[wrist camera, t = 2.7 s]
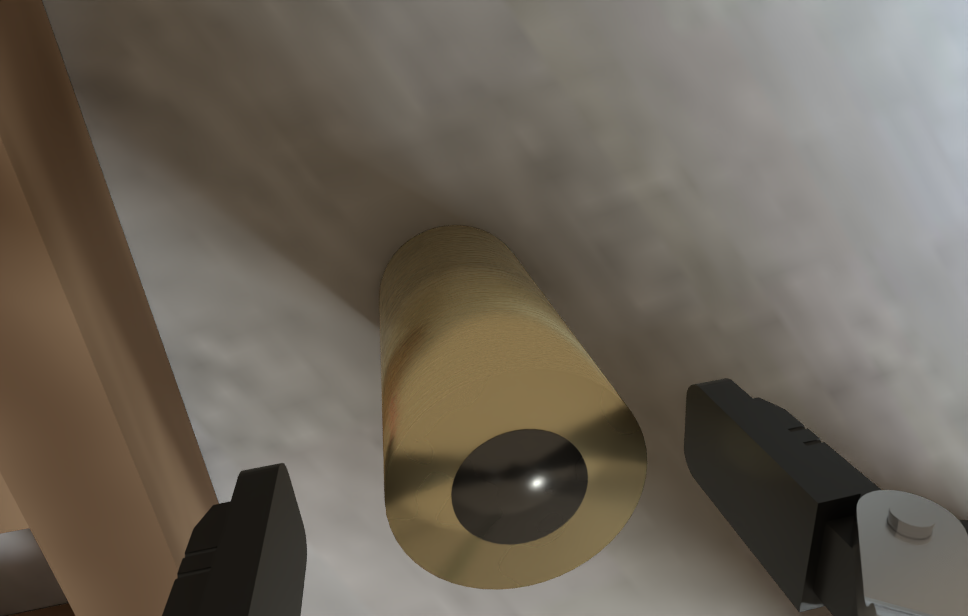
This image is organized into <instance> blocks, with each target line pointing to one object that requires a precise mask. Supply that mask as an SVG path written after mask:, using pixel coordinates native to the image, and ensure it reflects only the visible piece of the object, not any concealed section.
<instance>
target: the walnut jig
mask: <svg viewBox="0 0 968 616" xmlns="http://www.w3.org/2000/svg"><path fill="white" fill-rule="evenodd" d="M216 504H219V503H218V500H217V497H216V494H215V491H214V488H213V485H212V483H211V480H210V477H209V474H208V471H207V468H206V466H205V463H204V460H203V457H202V454H201V451H200V449H199V446H198V443H197V440H196V437H195V434H194V431H193V429H192V426H191V423H190V420H189V417H188V414H187V412H186V409H185V406H184V403H183V400H182V397H181V395H180V392H179V389H178V386H177V383H176V380H175V378H174V375H173V372H172V369H171V366H170V363H169V360H168V358H167V355H166V352H165V349H164V346H163V343H162V341H161V338H160V335H159V332H158V329H157V326H156V324H155V321H154V318H153V315H152V312H151V309H150V306H149V304H148V301H147V298H146V295H145V292H144V289H143V287H142V284H141V281H140V278H139V275H138V272H137V270H136V267H135V264H134V261H133V258H132V255H131V253H130V250H129V247H128V244H127V241H126V238H125V235H124V233H123V230H122V227H121V224H120V221H119V218H118V216H117V213H116V210H115V207H114V204H113V201H112V199H111V196H110V193H109V190H108V187H107V184H106V182H105V179H104V176H103V173H102V170H101V167H100V164H99V162H98V159H97V156H96V153H95V150H94V147H93V145H92V142H91V139H90V136H89V133H88V130H87V128H86V125H85V122H84V119H83V116H82V113H81V110H80V108H79V105H78V102H77V99H76V96H75V93H74V91H73V88H72V85H71V82H70V79H69V76H68V74H67V71H66V68H65V65H64V62H63V59H62V57H61V54H60V51H59V48H58V45H57V42H56V39H55V37H54V34H53V31H52V28H51V25H50V22H49V20H48V17H47V14H46V11H45V8H44V5H43V3H42V0H0V533H5V532H11V531H16V530H21V529H27V528H30V530H31V532H32V534H33V536H34V538H35V539H36V541H37V543H38V545H39V547H40V549H41V551H42V553H43V555H44V557H45V558H46V560H47V562H48V564H49V566H50V568H51V570H52V572H53V574H54V576H55V578H56V579H57V581H58V583H59V585H60V587H61V589H62V591H63V593H64V595H65V597H66V598H67V600H68V602H69V603H67V604H62V605H57V606H52V607H48V608H43V609H38V610H33V611H28V612H23V613H18V614H13V615H8V616H162V614H163V611H164V608H165V606H166V603H167V600H168V597H169V595H170V592H171V589H172V586H173V584H174V581H175V579H177V573H178V570H179V567H180V564H181V561H182V559H183V558H185V550H186V548H187V545H188V542H189V539H190V537H191V534H192V531H193V528H194V527H195V526H196V525H197V524H198V522H199V521H200V520H201V519H202V518H203V516H204V515H205V514H206V513H207V512H208V511H209V509H210V508H211V507H212V506H213V505H216Z"/></svg>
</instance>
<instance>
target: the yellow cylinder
mask: <svg viewBox="0 0 968 616" xmlns="http://www.w3.org/2000/svg"><path fill="white" fill-rule="evenodd" d="M379 311H380V347H381V383H382V420H383V456H384V493H385V507H386V515H387V518H388V522H389V525H390V528H391V530H392V532H393V534H394V536H395V538H396V540H397V542H398V543H399V545H400V546H401V548H402V549H403V550H404V552H405V553H406V554H407V555H408V556H409V557H410V558H411V559H412V560H413V561H414V562H415V563H417V564H418V565H419V566H421V567H422V568H423V569H425V570H426V571H428V572H429V573H431V574H433V575H435V576H437V577H439V578H441V579H444V580H446V581H449V582H451V583H454V584H458V585H462V586H466V587H472V588H479V589H511V588H519V587H524V586H530V585H534V584H537V583H541V582H545V581H547V580H550V579H553V578H555V577H558V576H561V575H563V574H565V573H567V572H569V571H571V570H573V569H575V568H576V567H578V566H580V565H581V564H583V563H585V562H586V561H588V560H589V559H591V558H592V557H593V556H595V555H596V554H597V553H599V552H600V551H601V550H602V549H603V548H604V547H605V546H607V545H608V544H609V543H610V542H611V541H612V540H613V539H614V538H615V536H616V535H617V534H618V533H619V532H620V531H621V530H622V528H623V527H624V525H625V524H626V523H627V521H628V520H629V518H630V517H631V515H632V513H633V511H634V509H635V508H636V506H637V504H638V501H639V499H640V496H641V494H642V491H643V487H644V483H645V479H646V470H647V452H646V446H645V441H644V437H643V434H642V431H641V429H640V427H639V424H638V422H637V420H636V419H635V417H634V416H633V414H632V412H631V411H630V409H629V408H628V407H627V405H626V404H625V403H624V401H623V400H622V399H621V397H620V396H619V395H618V393H617V392H616V391H615V389H614V388H613V387H612V385H611V384H610V383H609V381H608V380H607V379H606V377H605V376H604V375H603V373H602V372H601V371H600V369H599V368H598V367H597V365H596V364H595V363H594V361H593V360H592V359H591V357H590V356H589V355H588V353H587V352H586V351H585V349H584V348H583V347H582V345H581V344H580V343H579V341H578V340H577V339H576V337H575V336H574V335H573V333H572V332H571V331H570V329H569V328H568V327H567V325H566V324H565V323H564V321H563V320H562V318H561V317H560V316H559V314H558V313H557V312H556V310H555V309H554V308H553V306H552V305H551V304H550V302H549V301H548V300H547V298H546V297H545V296H544V294H543V293H542V292H541V290H540V289H539V288H538V286H537V285H536V284H535V282H534V281H533V280H532V278H531V277H530V276H529V274H528V273H527V272H526V270H525V269H524V268H523V266H522V265H521V264H520V262H519V261H518V260H517V258H516V257H515V256H514V254H513V253H512V252H511V251H510V249H509V248H508V247H507V246H506V245H505V244H504V243H503V242H502V241H500V240H499V239H498V238H496V237H495V236H493V235H492V234H489V233H487V232H485V231H483V230H480V229H477V228H474V227H469V226H461V225H450V226H442V227H437V228H433V229H430V230H427V231H425V232H423V233H421V234H419V235H416V236H415V237H413V238H412V239H410V240H409V241H407V242H406V243H405V244H404V245H403V246H402V247H401V248H400V249H399V250H398V251H397V252H396V253H395V254H394V255H393V257H392V258H391V260H390V261H389V263H388V265H387V267H386V269H385V271H384V274H383V277H382V280H381V284H380V290H379Z"/></svg>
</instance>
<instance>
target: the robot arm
mask: <svg viewBox="0 0 968 616" xmlns="http://www.w3.org/2000/svg"><path fill="white" fill-rule="evenodd" d="M684 453H685V458H686V462H687V465H688V468H689V470H690V472H691V474H692V476H693V477H694V479H695V480H696V481H697V483H698V484H699V485H700V487H701V488H702V489H703V490H704V492H705V493H706V494H707V495H708V497H709V498H710V499H711V501H712V502H713V503H714V504H715V506H716V507H717V508H718V509H719V511H720V512H721V513H722V515H723V516H724V517H725V518H726V520H727V521H728V522H729V523H730V525H731V526H732V527H733V529H734V530H735V531H736V532H737V534H738V535H739V536H740V537H741V539H742V540H743V541H744V542H745V544H746V545H747V546H748V548H749V549H750V550H751V551H752V553H753V554H754V555H755V556H756V558H757V559H758V560H759V562H760V563H761V564H762V565H763V567H764V568H765V569H766V570H767V572H768V573H769V574H770V576H771V577H772V578H773V579H774V581H775V582H776V583H777V584H778V586H779V587H780V588H781V590H782V591H783V592H784V593H785V595H786V596H787V597H788V598H789V600H790V601H791V602H792V603H793V605H794V606H795V607H796V609H797V610H798V611H799V612H803V611H807V610H811V609H815V608H818V607H822V606H826V607H827V608H828V610H829V611H830V612H831V613H832V614H833V616H968V520H958V519H957V518H956V517H955V516H954V515H953V514H952V513H950V512H949V511H948V510H946V509H945V508H943V507H942V506H940V505H939V504H937V503H935V502H933V501H931V500H929V499H926V498H924V497H921V496H918V495H915V494H912V493H908V492H903V491H897V490H881V489H880V488H878V487H877V486H876V485H875V484H874V483H872V482H871V481H870V480H869V479H868V478H866V477H865V476H864V475H863V474H862V473H860V472H859V471H858V470H857V469H856V468H854V467H853V466H852V465H851V464H850V463H848V462H847V461H846V460H845V459H844V458H842V457H841V456H840V455H839V454H838V453H836V452H835V451H834V450H833V449H832V448H830V447H829V446H828V445H827V444H826V443H824V442H823V443H821V441H820V438H818V437H817V436H816V435H815V434H814V433H812V432H811V431H810V430H809V429H805V428H804V425H803V424H802V423H800V422H799V421H798V420H797V419H796V418H794V417H793V416H792V415H791V414H790V413H788V412H787V411H786V410H785V409H783V408H781V407H778V406H776V405H774V404H772V403H770V402H768V401H765V400H763V399H761V398H754V399H753V398H752V397H750V396H749V395H748V394H747V393H746V392H745V391H744V390H742V389H741V388H740V387H739V386H738V385H737V384H736V383H734V382H733V381H732V380H730V379H721V380H715V381H710V382H705V383H700V384H695V385H691V386H690V387H689V388H688V391H687V397H686V417H685V437H684ZM306 562H307V544H306V535H305V529H304V525H303V521H302V518H301V514H300V511H299V508H298V504H297V501H296V497H295V494H294V490H293V487H292V484H291V480H290V477H289V473H288V470H287V468H286V466H285V464H284V463H280V464H275V465H270V466H264V467H259V468H254V469H249V470H244V471H241V472H240V474H239V476H238V479H237V482H236V486H235V489H234V492H233V496H232V499H231V502H226V503H221V504H216V505H213V506H212V507H211V508H210V509H209V511H208V512H207V513H206V514H205V515H204V516H203V518H202V519H201V520H200V521H199V522H198V524H197V525H196V526H195V527H194V528H193V531H192V534H191V537H190V539H189V542H188V545H187V548H186V550H185V558H183V559H182V561H181V564H180V567H179V570H178V573H177V579H175V581H174V584H173V586H172V589H171V592H170V595H169V597H168V600H167V603H166V606H165V608H164V611H163V614H162V616H300V615H301V606H302V597H303V588H304V580H305V571H306Z"/></svg>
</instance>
